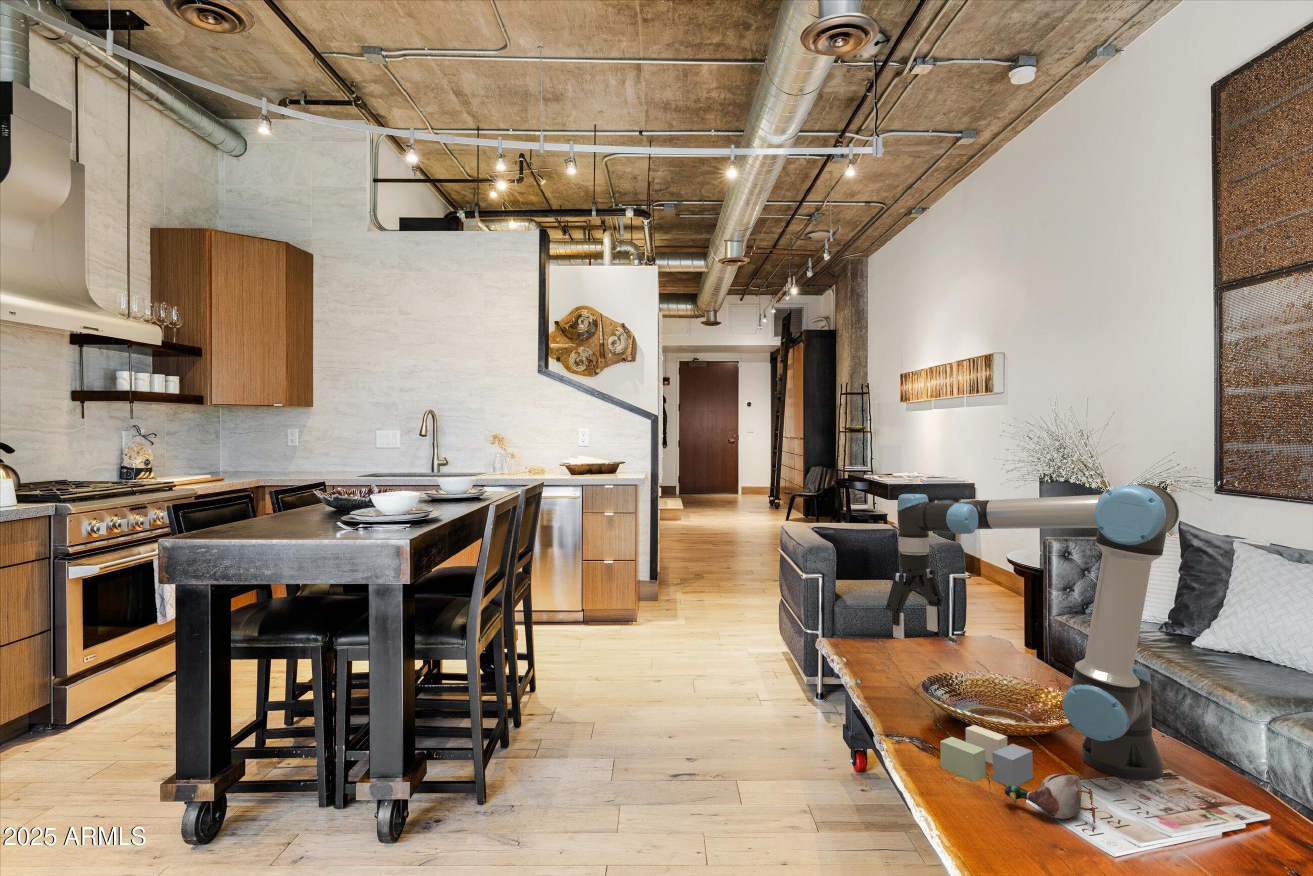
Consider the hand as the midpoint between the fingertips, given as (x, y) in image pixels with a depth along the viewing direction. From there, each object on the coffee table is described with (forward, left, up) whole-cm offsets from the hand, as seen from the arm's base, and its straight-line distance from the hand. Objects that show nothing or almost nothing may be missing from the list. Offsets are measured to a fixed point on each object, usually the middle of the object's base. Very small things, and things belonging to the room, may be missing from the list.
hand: (915, 634), depth 176 cm
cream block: (-20, +3, -24) cm, 32 cm away
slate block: (-29, +8, -24) cm, 39 cm away
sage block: (-21, +14, -24) cm, 35 cm away
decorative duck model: (-41, +14, -24) cm, 49 cm away
